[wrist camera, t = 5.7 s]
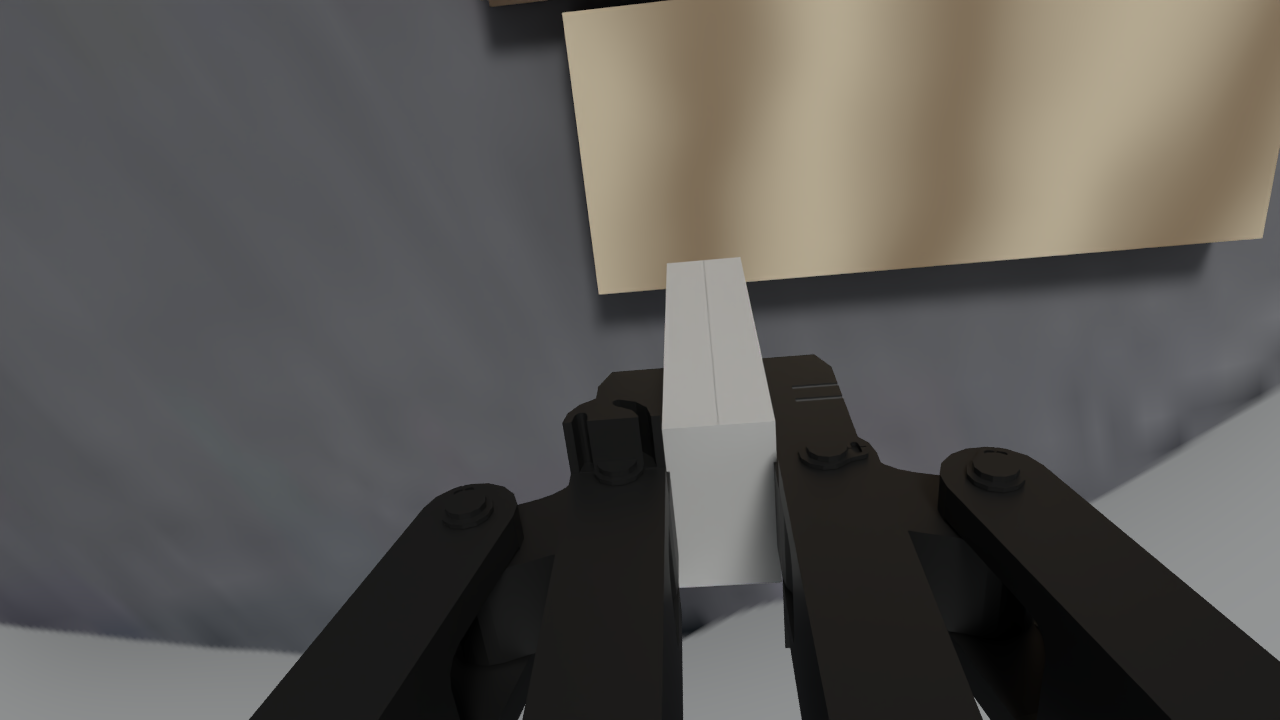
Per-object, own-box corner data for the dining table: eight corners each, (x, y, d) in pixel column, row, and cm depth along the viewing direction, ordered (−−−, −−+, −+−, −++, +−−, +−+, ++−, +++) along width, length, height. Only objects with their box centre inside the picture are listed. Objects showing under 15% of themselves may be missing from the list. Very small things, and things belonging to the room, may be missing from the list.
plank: (603, 278, 25) (598, 294, 24) (569, 12, 22) (562, 12, 21) (1228, 224, 23) (1262, 238, 22) (1279, -70, 21) (1322, -76, 19)
